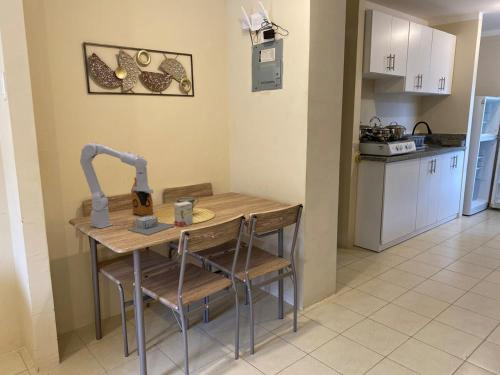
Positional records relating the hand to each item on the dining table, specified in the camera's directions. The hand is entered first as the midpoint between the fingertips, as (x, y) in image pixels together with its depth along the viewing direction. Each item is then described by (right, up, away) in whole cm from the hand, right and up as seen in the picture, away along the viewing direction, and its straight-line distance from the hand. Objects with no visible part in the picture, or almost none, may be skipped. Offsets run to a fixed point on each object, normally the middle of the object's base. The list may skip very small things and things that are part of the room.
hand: (143, 205), depth 199 cm
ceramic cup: (+21, -7, +19) cm, 29 cm away
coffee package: (-7, -7, +22) cm, 24 cm away
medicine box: (-1, -8, -2) cm, 8 cm away
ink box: (+22, -11, -1) cm, 24 cm away
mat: (+6, -12, -7) cm, 15 cm away
